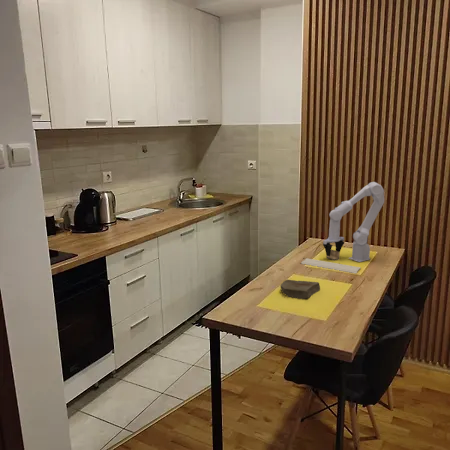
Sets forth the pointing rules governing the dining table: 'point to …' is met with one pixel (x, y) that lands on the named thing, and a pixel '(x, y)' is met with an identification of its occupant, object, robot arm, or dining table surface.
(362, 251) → the robot arm
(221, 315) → the dining table surface
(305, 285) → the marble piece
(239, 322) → the dining table surface
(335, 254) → the block
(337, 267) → the baseboard
